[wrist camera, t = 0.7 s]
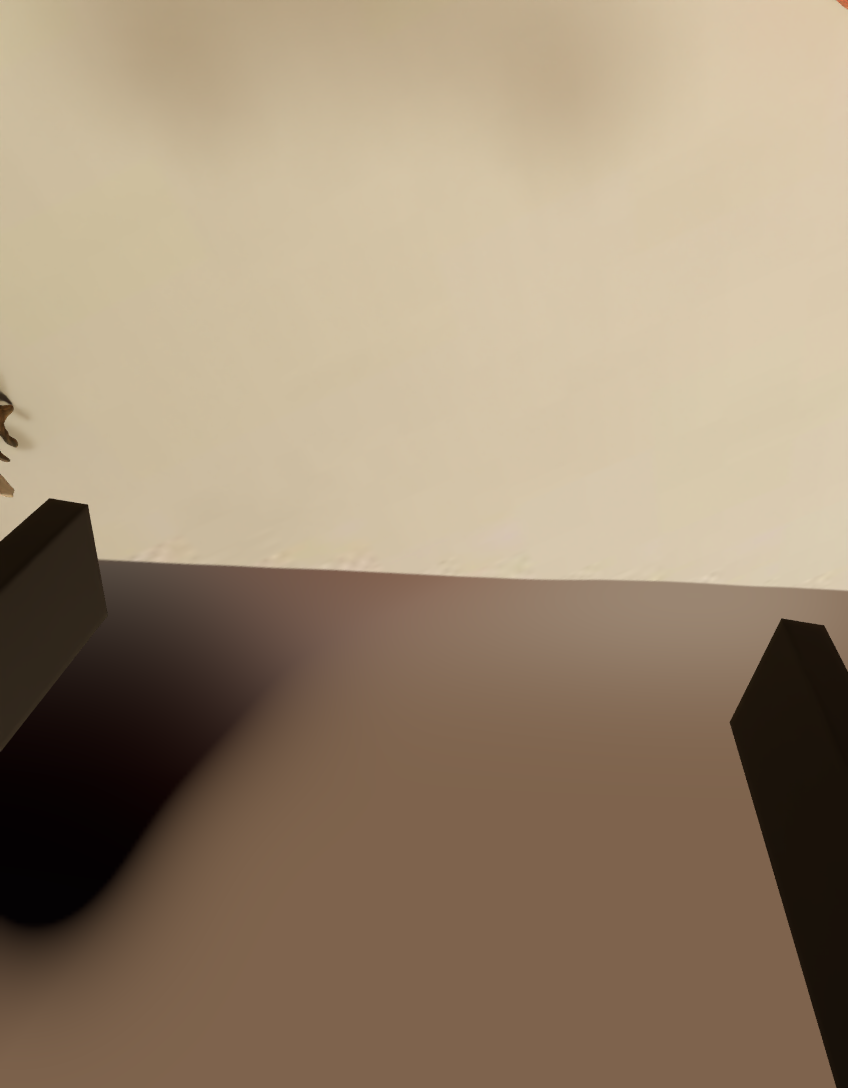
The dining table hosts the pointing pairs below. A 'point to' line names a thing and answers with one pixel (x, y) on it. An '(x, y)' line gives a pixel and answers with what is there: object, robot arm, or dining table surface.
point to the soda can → (843, 3)
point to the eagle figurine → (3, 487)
